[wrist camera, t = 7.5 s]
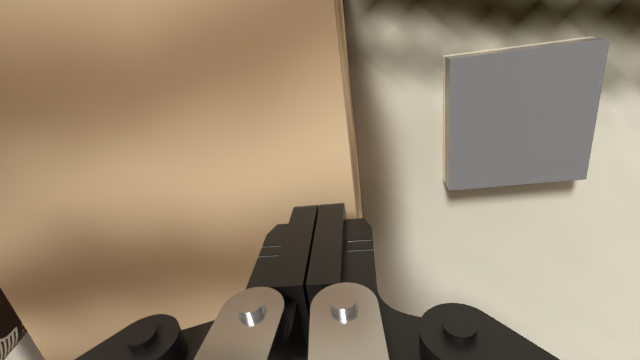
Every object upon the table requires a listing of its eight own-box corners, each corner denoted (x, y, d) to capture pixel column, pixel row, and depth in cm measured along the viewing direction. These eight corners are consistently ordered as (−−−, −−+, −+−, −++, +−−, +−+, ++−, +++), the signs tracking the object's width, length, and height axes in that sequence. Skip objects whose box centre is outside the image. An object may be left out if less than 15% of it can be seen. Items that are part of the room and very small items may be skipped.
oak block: (74, 7, 19) (-176, 2, 10) (339, -36, 17) (324, -88, 8) (165, 257, 26) (63, 390, 17) (365, 244, 24) (374, 386, 15)
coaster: (610, 38, 16) (584, 36, 18) (450, 58, 17) (440, 54, 19) (585, 179, 19) (565, 165, 21) (448, 190, 20) (440, 176, 22)
